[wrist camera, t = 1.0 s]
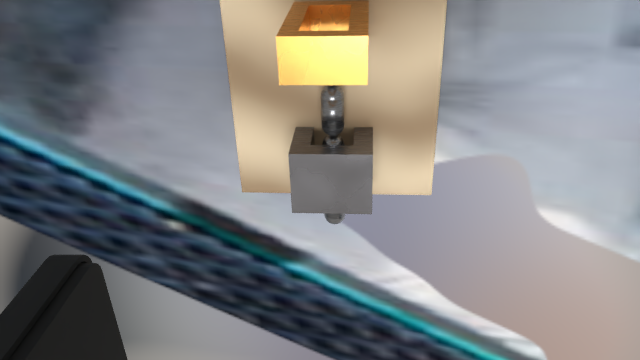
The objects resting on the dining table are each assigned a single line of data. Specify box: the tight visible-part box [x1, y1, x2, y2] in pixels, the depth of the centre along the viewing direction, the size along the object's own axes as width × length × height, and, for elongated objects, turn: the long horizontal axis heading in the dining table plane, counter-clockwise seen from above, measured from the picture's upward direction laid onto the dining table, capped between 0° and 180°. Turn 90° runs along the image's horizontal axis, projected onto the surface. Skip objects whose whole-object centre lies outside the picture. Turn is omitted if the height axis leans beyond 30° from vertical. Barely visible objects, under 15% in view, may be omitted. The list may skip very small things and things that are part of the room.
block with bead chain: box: [276, 1, 369, 224], centre depth 28 cm, size 12×4×6 cm, turn 2°
